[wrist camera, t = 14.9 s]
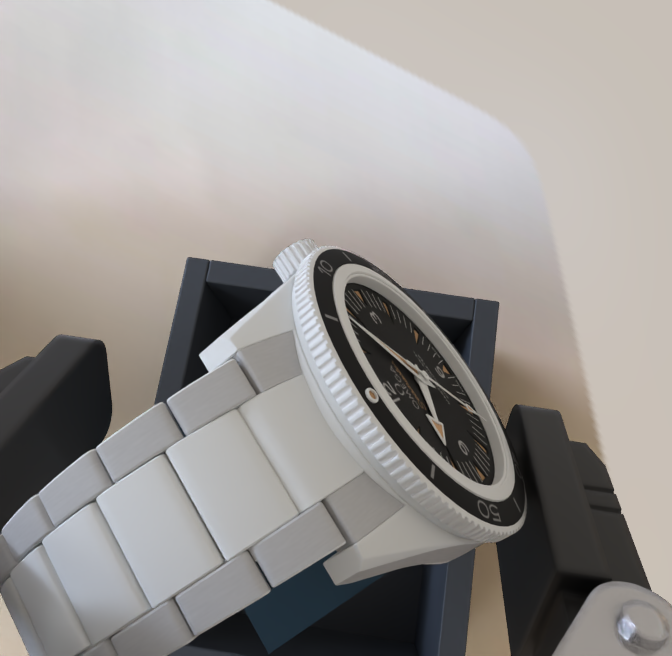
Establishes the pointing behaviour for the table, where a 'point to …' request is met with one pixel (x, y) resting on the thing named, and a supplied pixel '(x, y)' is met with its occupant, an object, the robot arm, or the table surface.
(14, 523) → the watch
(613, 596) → the robot arm
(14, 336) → the table surface
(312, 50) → the table surface
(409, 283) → the table surface
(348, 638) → the box
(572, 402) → the table surface
